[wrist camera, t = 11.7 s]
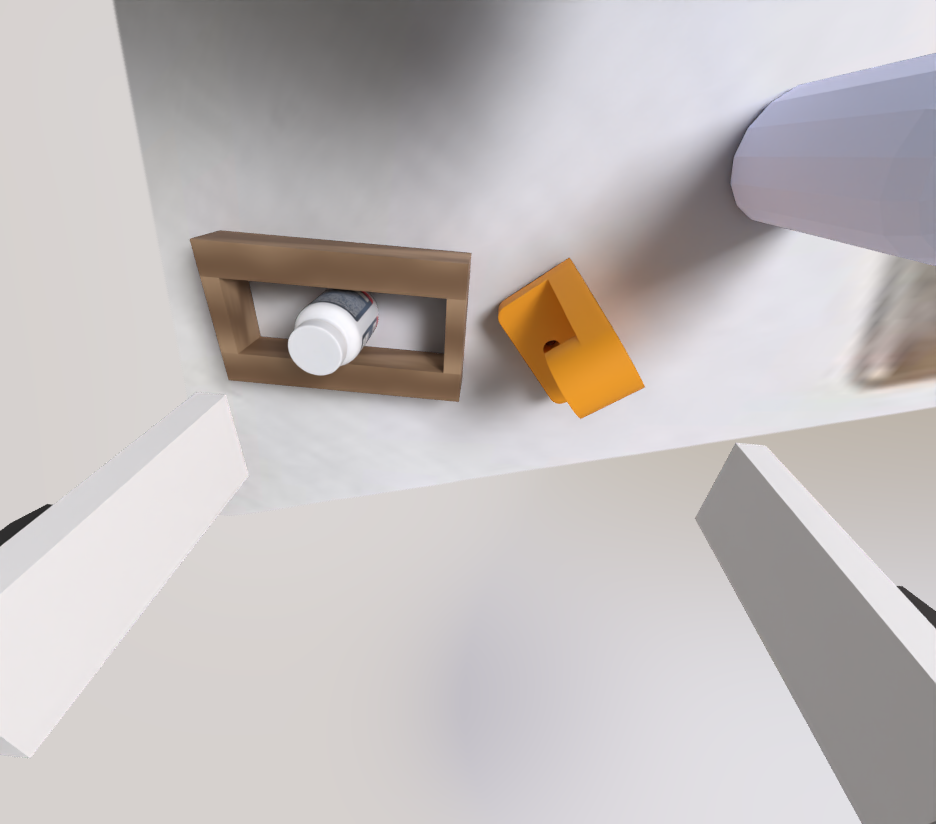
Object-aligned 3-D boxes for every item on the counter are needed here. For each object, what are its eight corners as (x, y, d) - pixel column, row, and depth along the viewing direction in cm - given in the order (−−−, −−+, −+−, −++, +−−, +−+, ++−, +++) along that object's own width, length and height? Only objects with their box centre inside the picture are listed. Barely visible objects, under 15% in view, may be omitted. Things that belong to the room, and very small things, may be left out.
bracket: (493, 303, 36) (492, 362, 26) (567, 255, 33) (598, 299, 23) (552, 392, 40) (571, 472, 30) (622, 356, 38) (668, 429, 28)
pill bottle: (313, 287, 36) (265, 321, 28) (369, 276, 35) (334, 309, 28) (334, 342, 39) (295, 387, 31) (386, 333, 38) (359, 377, 30)
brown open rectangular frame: (220, 230, 34) (189, 238, 30) (471, 253, 33) (468, 263, 30) (251, 361, 40) (228, 380, 37) (461, 380, 40) (458, 401, 37)
